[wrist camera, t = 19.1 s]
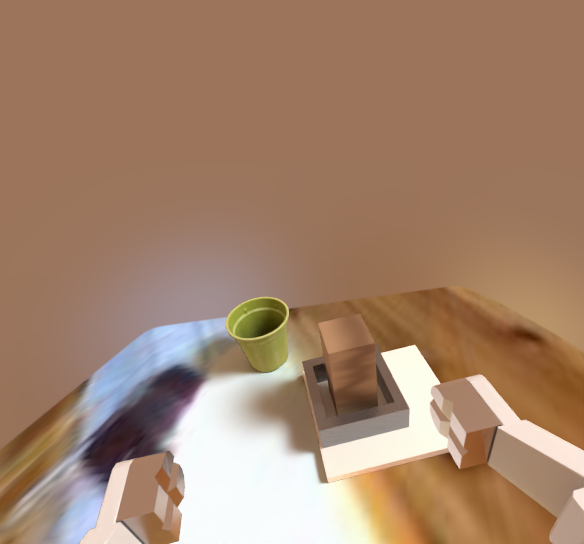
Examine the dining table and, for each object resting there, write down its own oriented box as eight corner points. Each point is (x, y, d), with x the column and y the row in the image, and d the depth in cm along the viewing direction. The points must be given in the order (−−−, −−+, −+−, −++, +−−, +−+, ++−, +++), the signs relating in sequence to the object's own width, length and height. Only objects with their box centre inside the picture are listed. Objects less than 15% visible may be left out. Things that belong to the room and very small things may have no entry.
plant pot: (236, 385, 50) (220, 344, 46) (243, 341, 58) (229, 301, 54) (299, 377, 50) (289, 334, 45) (296, 333, 58) (288, 292, 53)
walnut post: (339, 422, 42) (328, 354, 35) (329, 389, 46) (318, 323, 39) (378, 412, 42) (374, 342, 35) (364, 381, 46) (359, 313, 40)
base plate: (328, 483, 37) (327, 478, 36) (303, 376, 50) (302, 372, 49) (476, 445, 38) (477, 440, 37) (414, 349, 50) (415, 345, 50)
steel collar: (322, 448, 39) (319, 431, 37) (305, 378, 48) (302, 361, 46) (409, 426, 40) (409, 408, 38) (376, 361, 48) (375, 343, 47)
